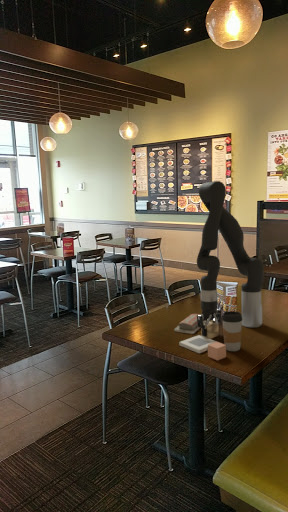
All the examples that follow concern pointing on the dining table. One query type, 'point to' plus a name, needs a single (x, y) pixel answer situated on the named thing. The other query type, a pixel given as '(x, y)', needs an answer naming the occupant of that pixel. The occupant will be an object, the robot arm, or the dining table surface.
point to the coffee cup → (232, 330)
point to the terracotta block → (217, 351)
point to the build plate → (197, 343)
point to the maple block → (211, 330)
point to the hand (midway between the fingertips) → (209, 334)
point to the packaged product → (188, 325)
